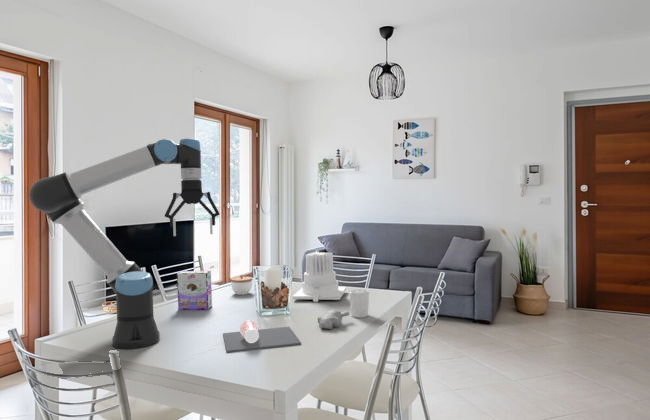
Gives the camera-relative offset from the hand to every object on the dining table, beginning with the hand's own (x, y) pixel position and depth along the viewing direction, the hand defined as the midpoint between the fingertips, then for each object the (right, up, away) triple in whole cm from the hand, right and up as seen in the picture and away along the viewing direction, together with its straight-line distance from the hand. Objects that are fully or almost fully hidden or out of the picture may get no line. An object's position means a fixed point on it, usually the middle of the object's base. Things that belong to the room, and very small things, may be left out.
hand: (193, 235), depth 181 cm
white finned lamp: (+49, -32, +45) cm, 74 cm away
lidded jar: (+9, -33, +57) cm, 66 cm away
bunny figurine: (+54, -34, -4) cm, 64 cm away
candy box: (-7, -34, +28) cm, 45 cm away
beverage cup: (+27, -31, -28) cm, 50 cm away
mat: (+29, -35, -20) cm, 49 cm away
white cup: (+65, -33, +8) cm, 73 cm away
